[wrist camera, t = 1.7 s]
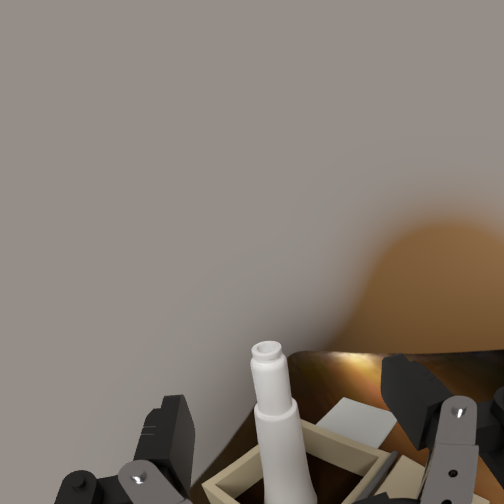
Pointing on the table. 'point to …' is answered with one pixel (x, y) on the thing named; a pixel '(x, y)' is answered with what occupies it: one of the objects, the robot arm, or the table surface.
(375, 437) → the mat
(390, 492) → the lid
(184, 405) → the robot arm
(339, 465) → the case
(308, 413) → the table surface
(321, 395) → the table surface
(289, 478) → the cosmetic bottle
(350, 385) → the table surface
